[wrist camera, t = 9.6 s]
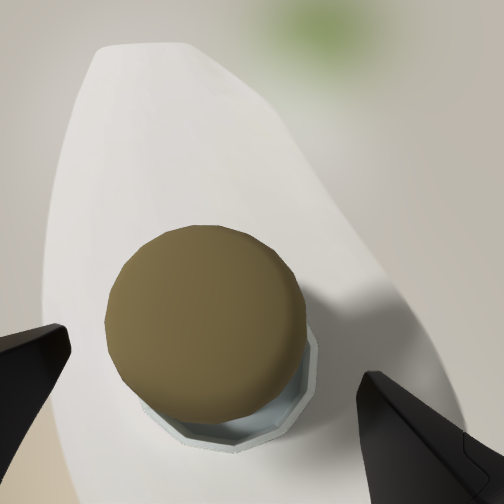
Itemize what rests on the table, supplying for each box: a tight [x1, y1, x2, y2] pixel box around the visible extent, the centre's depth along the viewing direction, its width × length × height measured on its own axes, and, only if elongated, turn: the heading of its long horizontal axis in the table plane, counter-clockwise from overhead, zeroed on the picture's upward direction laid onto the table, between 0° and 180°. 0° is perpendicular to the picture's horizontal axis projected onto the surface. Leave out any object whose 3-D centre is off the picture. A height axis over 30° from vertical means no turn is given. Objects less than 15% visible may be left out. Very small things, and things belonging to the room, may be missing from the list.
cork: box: [104, 225, 307, 425], centre depth 11 cm, size 6×6×11 cm
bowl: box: [138, 320, 319, 454], centre depth 15 cm, size 9×9×3 cm
